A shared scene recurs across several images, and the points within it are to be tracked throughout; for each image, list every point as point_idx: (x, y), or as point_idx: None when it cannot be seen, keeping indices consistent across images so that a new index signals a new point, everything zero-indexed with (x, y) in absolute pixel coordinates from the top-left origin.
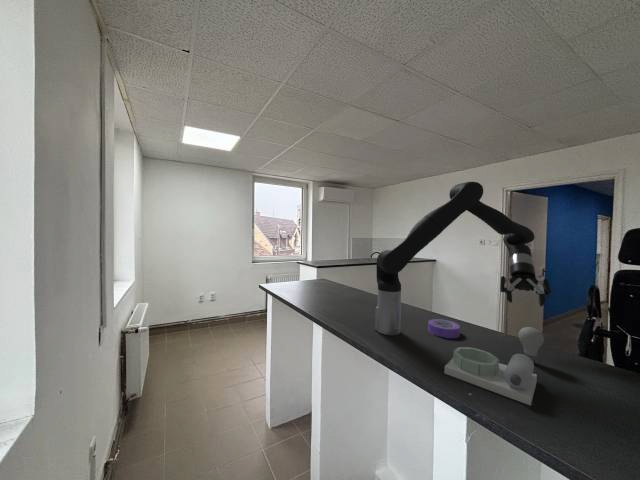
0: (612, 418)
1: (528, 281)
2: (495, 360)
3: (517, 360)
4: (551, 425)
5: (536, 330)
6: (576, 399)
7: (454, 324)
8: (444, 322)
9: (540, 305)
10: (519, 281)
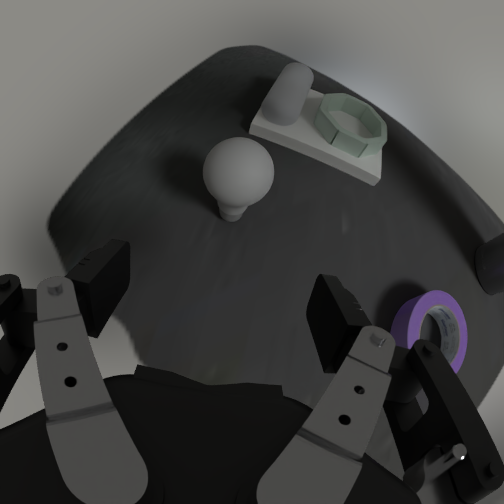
0: (186, 88)
1: (118, 429)
2: (325, 104)
3: (297, 79)
4: (264, 69)
5: (229, 141)
6: (207, 107)
7: None
8: None
9: (128, 267)
10: (301, 434)
